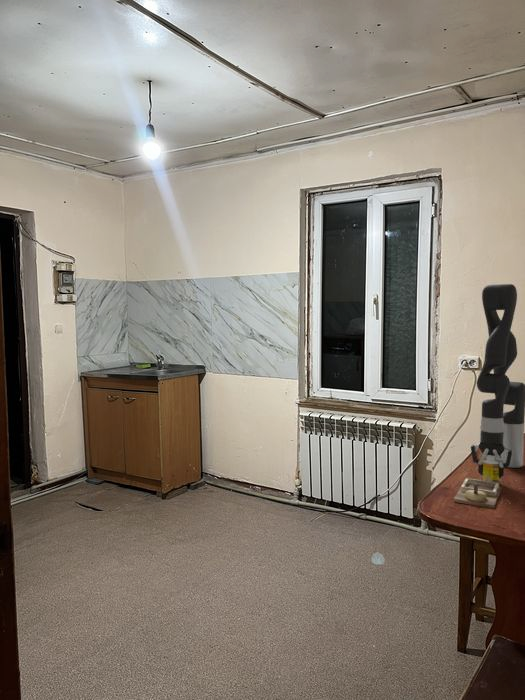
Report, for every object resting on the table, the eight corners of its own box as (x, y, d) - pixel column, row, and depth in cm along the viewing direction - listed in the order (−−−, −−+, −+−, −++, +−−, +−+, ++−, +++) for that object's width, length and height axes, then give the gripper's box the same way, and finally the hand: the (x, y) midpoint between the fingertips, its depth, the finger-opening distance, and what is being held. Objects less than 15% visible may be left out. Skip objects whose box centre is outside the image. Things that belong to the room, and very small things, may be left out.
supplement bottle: (493, 486, 183) (494, 457, 183) (479, 481, 188) (479, 454, 187) (502, 483, 186) (503, 455, 186) (488, 479, 191) (489, 451, 190)
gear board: (464, 484, 185) (464, 469, 185) (501, 490, 179) (501, 474, 179) (453, 501, 169) (454, 485, 169) (494, 508, 163) (494, 491, 163)
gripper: (515, 429, 185) (514, 476, 187) (472, 425, 193) (471, 470, 194) (513, 433, 179) (511, 482, 180) (468, 429, 186) (467, 475, 187)
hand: (490, 475), depth 187 cm, fingers closed on supplement bottle, 5 cm apart
